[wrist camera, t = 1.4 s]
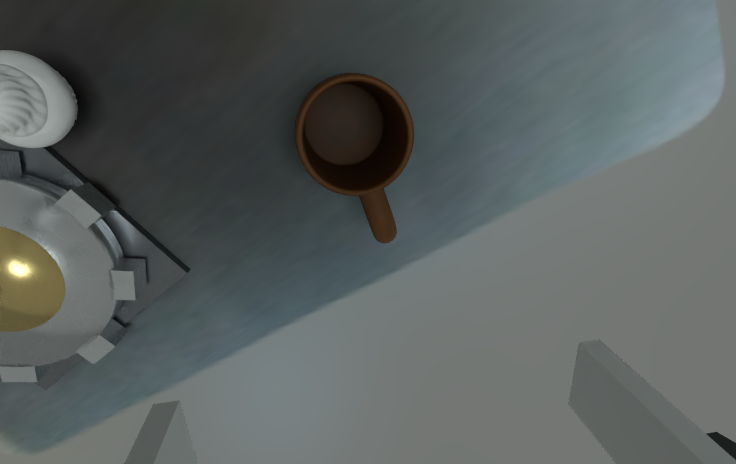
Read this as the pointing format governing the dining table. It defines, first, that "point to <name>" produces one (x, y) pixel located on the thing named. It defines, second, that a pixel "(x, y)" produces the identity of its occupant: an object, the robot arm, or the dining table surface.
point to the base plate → (128, 233)
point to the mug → (356, 142)
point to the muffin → (33, 101)
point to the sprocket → (57, 274)
